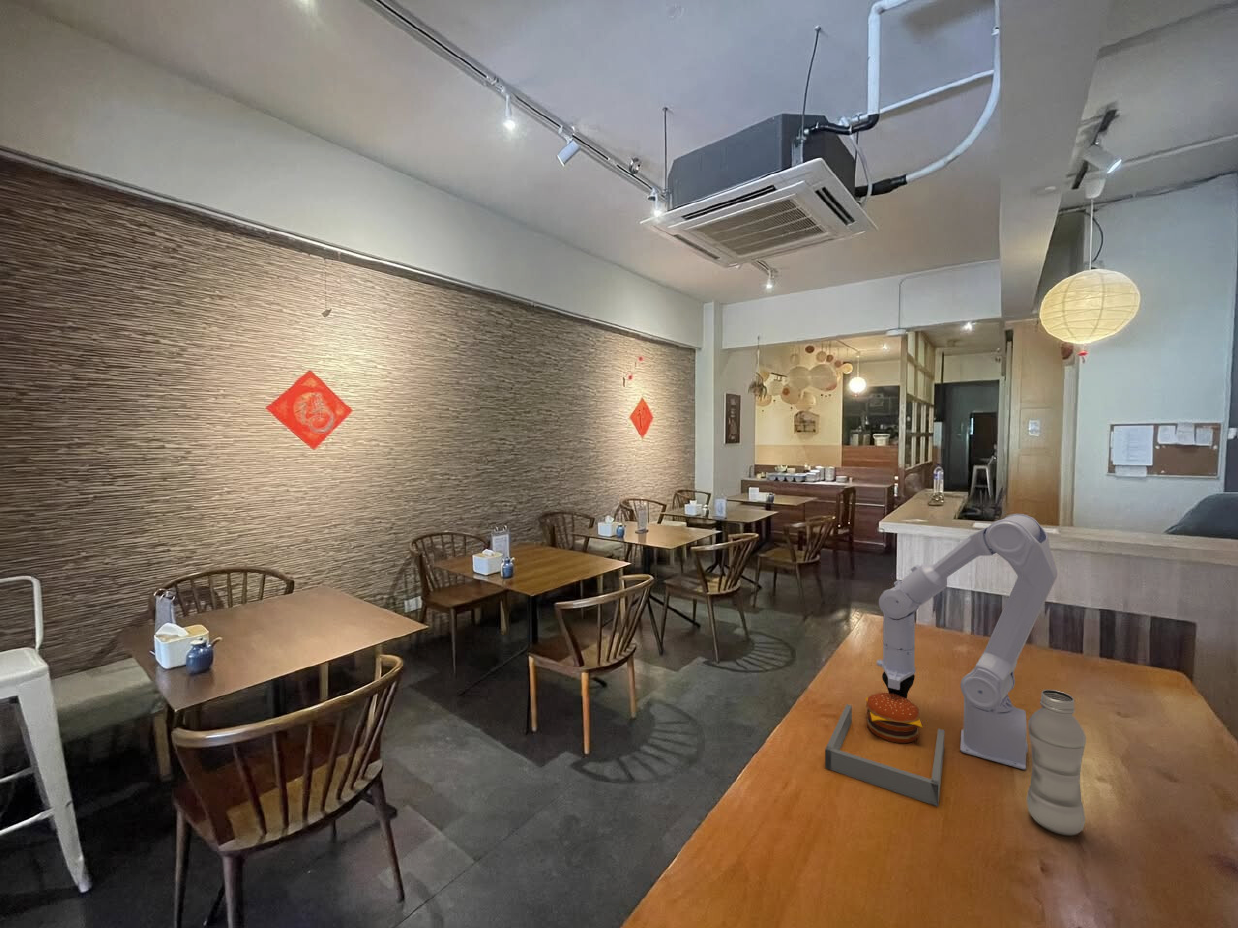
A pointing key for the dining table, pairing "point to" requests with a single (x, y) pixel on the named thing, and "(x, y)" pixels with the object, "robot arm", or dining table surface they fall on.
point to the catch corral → (883, 766)
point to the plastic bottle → (1056, 765)
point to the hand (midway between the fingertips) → (898, 708)
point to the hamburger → (892, 717)
